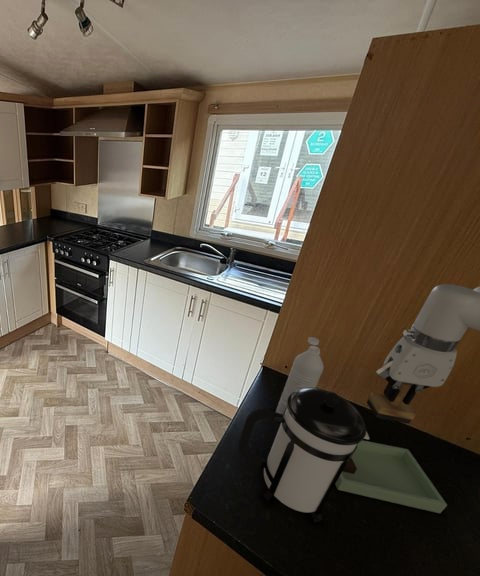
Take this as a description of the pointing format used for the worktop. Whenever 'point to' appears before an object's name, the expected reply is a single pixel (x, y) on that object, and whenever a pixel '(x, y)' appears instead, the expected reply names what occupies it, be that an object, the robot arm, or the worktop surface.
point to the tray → (390, 477)
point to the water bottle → (302, 373)
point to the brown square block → (350, 467)
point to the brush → (392, 406)
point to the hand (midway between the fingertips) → (395, 398)
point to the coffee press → (307, 448)
